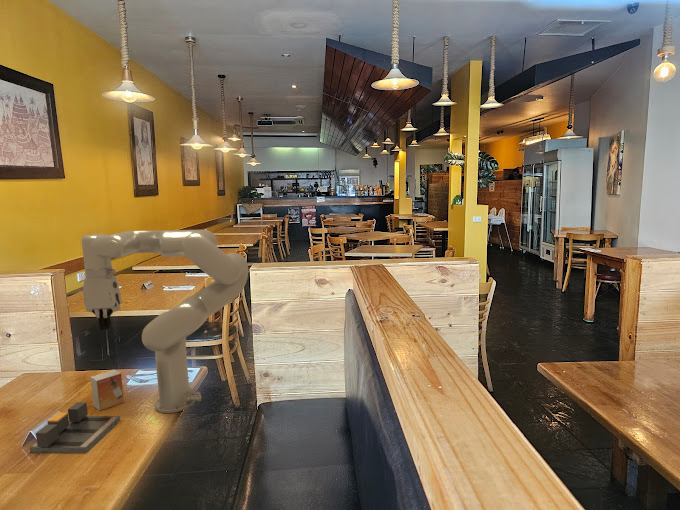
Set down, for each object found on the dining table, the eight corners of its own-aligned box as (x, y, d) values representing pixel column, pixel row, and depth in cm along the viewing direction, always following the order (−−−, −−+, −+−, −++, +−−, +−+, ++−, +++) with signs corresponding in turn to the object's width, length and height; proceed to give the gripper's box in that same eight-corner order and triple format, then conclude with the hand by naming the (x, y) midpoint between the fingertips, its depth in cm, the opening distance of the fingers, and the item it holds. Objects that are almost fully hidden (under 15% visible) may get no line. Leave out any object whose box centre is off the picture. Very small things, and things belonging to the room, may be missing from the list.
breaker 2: (87, 414, 137) (86, 402, 137) (78, 421, 133) (77, 409, 132) (78, 414, 137) (77, 402, 137) (69, 421, 133) (67, 409, 132)
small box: (99, 411, 143) (95, 381, 141) (93, 406, 147) (89, 376, 145) (124, 402, 149) (121, 373, 147) (118, 397, 152) (115, 368, 151)
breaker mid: (69, 425, 131) (67, 412, 130) (59, 433, 126) (57, 420, 126) (59, 425, 131) (58, 412, 130) (49, 433, 127) (47, 420, 126)
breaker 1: (59, 437, 124) (57, 424, 124) (47, 446, 120) (46, 433, 119) (49, 437, 125) (47, 424, 124) (37, 446, 120) (35, 433, 120)
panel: (120, 420, 137) (119, 415, 136) (85, 453, 120) (85, 447, 120) (71, 420, 138) (70, 415, 137) (30, 452, 121) (29, 447, 121)
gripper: (128, 270, 142) (133, 325, 145) (84, 271, 143) (90, 325, 145) (115, 275, 134) (121, 332, 137) (68, 275, 135) (75, 332, 138)
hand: (105, 328), depth 141 cm, fingers closed
